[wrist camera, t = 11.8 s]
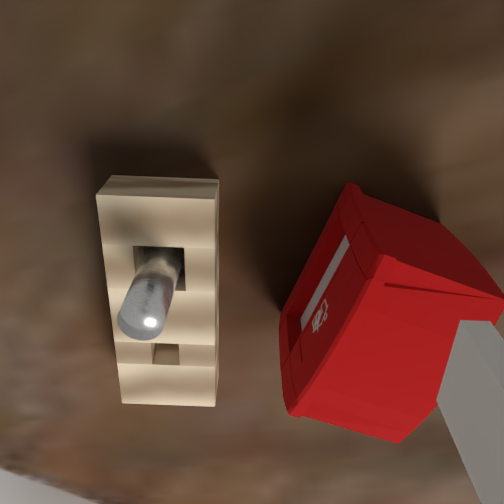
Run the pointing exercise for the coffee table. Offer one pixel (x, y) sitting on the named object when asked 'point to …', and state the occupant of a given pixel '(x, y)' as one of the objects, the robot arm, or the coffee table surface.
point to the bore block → (186, 291)
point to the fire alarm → (378, 317)
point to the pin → (151, 293)
